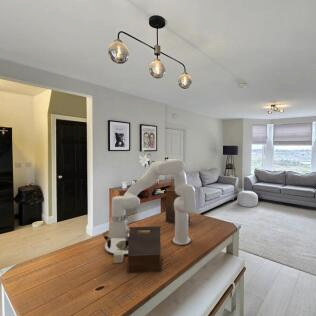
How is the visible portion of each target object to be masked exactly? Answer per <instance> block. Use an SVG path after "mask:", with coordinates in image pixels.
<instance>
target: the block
mask: <svg viewBox="0 0 316 316" xmlns="http://www.w3.org/2000/svg"><path fill="white" fill-rule="evenodd" d="M124 255H125V254H124V251H116V252H115V254H113V264H122V263H123V261H124V257H125V256H124Z"/></svg>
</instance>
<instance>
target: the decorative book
mask: <svg viewBox="0 0 316 316" xmlns="http://www.w3.org/2000/svg"><path fill="white" fill-rule="evenodd" d="M178 197H182V196H179V195H177V194H176V193H175V188H165V222H169V223H172V224H175V209H174V201H175V199H176V198H178ZM189 223H190V224H191V216H190V214H188V226H190V224H189Z"/></svg>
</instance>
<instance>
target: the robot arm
mask: <svg viewBox="0 0 316 316" xmlns="http://www.w3.org/2000/svg"><path fill="white" fill-rule="evenodd" d="M185 168H186V164H185V162H184V161H183V160H182V159H179V158H168V159H166V160H165V161H163V160H155V161H153V162H152V163H151V164H150V166H149V167H148V168H147V170H145V172H144V174H143V175H142V176H141V177H140V178H139V179H137V180H136V181H135V182H134V183H133V184H131V185H130V186H129V188H128V189H127V190H126V192H125V193H124V194H123V195H116V196H113V197H112V198H111V219H110V221H109V224H108V225H109V226H108V230H106V231H103V233H102V237H103V238H104V240H105V241H106V243H107V246H108V249H109V248H110V247H111V239H112V238H125V239H126V244H125V248H127V246H129V236H128V233H129V230H130V229H129V226H128V225H129V223H128V219H129V215H126V210H133V209H137V208H138V207H139V206H140V205H141V199H140V197H138V195H139V194H140V193H141V192H143V191H144V190H147V189H149V188H151V187H153V185H154V184H155V183H156V181H158V178H159V177H160V176H168V175H169V176H170V175H173V182H174V183H173V184H174V189H175V193H176V194H177V195H179V196H182V197H178V198H176V199H175V201H174V209H175V223H174V237H173V238H172V243H173V244H174V245H178V246H184V245H188V244H190V243H191V237H189V225H188V214H189V215H191V214H193V213H195V210H196V207H197V201H196V189H195V187H194V186H193V185H192V184H191V183H187V174H186V171H185Z"/></svg>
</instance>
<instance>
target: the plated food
mask: <svg viewBox="0 0 316 316" xmlns="http://www.w3.org/2000/svg"><path fill="white" fill-rule="evenodd" d="M128 236H129V233H128ZM125 244H126V239H125V238H111V247H110V248H109V249H108V246H107V242H105V245H104V249H105V250H106V251H107V252H108V253H110V254H113V255H114V254H115V252H116V251H124V255H128V247H129V246H127V248H125Z"/></svg>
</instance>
